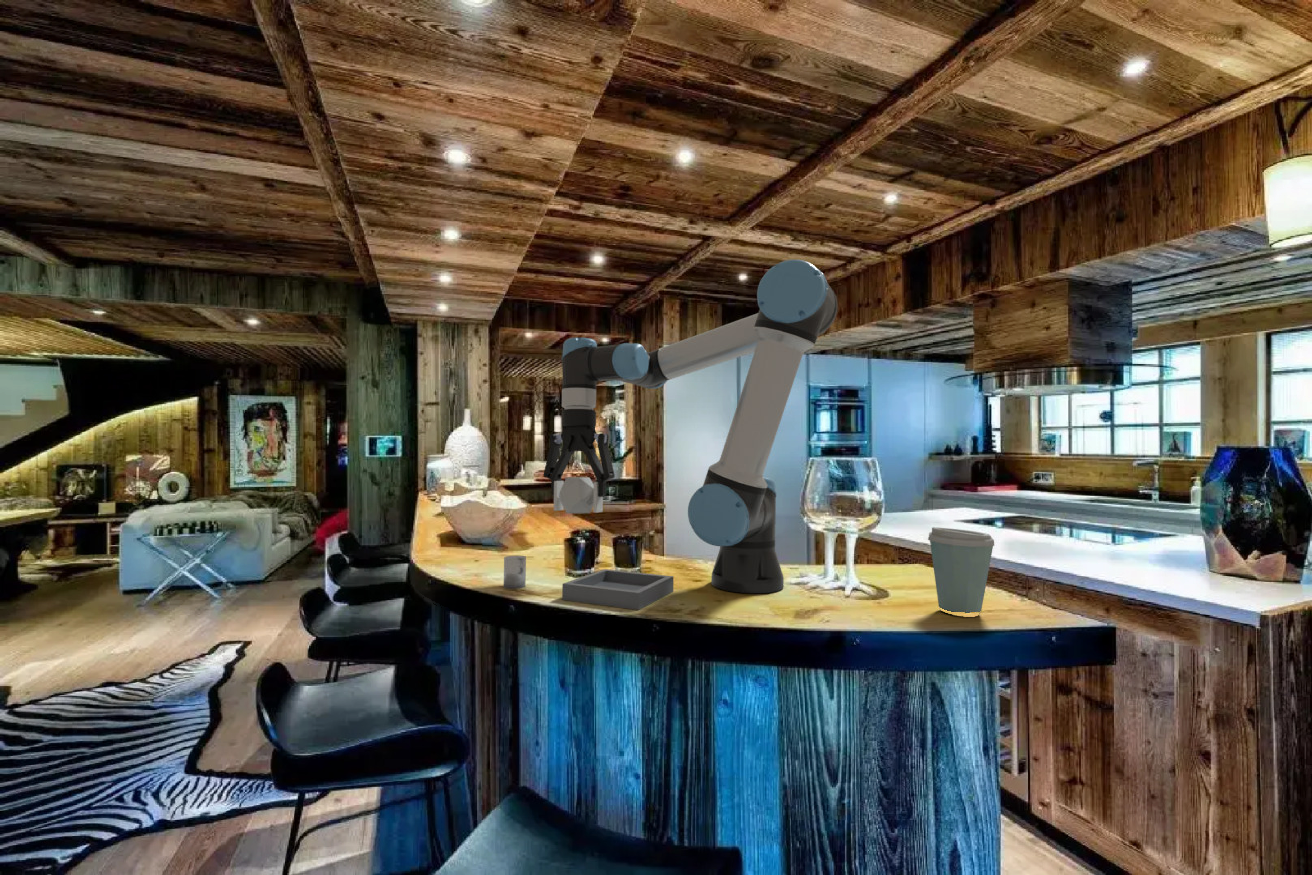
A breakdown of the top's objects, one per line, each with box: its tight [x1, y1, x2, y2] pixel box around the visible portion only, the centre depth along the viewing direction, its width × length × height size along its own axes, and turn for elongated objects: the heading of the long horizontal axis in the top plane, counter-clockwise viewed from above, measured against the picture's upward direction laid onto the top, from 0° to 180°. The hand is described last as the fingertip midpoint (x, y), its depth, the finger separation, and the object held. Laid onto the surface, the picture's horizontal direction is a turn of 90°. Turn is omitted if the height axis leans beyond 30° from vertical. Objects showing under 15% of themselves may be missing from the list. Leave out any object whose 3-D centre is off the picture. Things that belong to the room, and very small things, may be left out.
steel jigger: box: [503, 555, 527, 590], centre depth 119 cm, size 4×4×6 cm
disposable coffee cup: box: [927, 526, 995, 613], centre depth 102 cm, size 11×11×15 cm
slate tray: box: [561, 568, 674, 611], centre depth 112 cm, size 16×16×3 cm
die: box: [559, 476, 594, 514], centre depth 126 cm, size 8×9×10 cm
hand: (578, 511), depth 126 cm, fingers closed on die, 9 cm apart
